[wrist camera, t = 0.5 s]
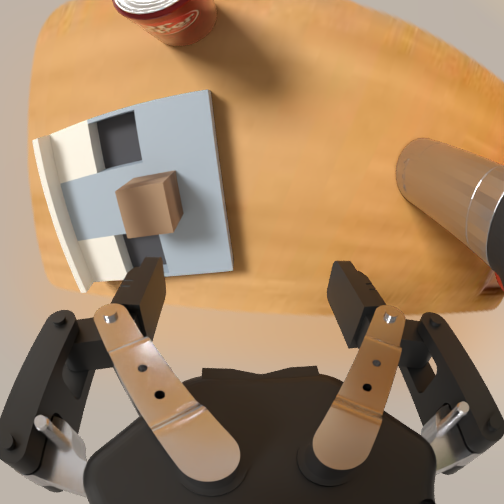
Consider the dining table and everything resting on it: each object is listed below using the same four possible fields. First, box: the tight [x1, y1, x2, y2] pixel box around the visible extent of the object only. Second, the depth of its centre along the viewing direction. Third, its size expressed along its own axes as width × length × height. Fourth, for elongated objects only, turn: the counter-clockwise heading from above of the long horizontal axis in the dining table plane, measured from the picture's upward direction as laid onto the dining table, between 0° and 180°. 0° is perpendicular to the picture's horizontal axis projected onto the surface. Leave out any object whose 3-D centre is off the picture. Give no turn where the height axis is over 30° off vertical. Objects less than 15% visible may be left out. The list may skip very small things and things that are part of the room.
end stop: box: [32, 135, 94, 293], centre depth 28 cm, size 1×21×2 cm, turn 6°
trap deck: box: [50, 90, 234, 282], centre depth 30 cm, size 21×21×2 cm
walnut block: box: [115, 170, 184, 238], centre depth 27 cm, size 5×5×5 cm
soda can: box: [112, 0, 217, 46], centre depth 16 cm, size 7×7×12 cm
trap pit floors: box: [97, 111, 167, 267], centre depth 31 cm, size 6×20×1 cm, turn 6°
